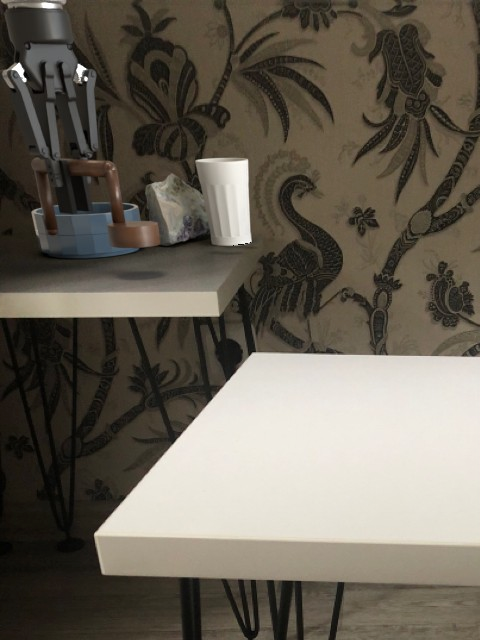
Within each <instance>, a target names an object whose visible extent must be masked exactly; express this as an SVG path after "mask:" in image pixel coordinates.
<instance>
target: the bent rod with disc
mask: <svg viewBox="0 0 480 640" xmlns="http://www.w3.org/2000/svg"><path fill="white" fill-rule="evenodd" d="M59 160H67V164H68V169H69V174H70V175H73V176H89V177H91V178H105V185H106V189H107V196H108V203H110V209H111V215H112V221H113V223H110V224H107V228H108V234H109V240H110V245H111V246H112V247H117V248H140V249H142V248H143V249H144V248H151V247H152V248H153V247H156V246H161V245H160V244H161V243H160V236H159V229H158V223H157V222H152V221H150V220H141V221H125V217H124V210H123V204H122V203H123V199H122V192H121V185H120V180H119V173H118V168H117V165H116V164H115V163H114V162H112V161H111V160H101V159H99V160H98V159H88V160H81V159H66V158H61V157H60V159H59ZM31 168H32V170H33V171H34V177H35V181H36V186H37V187H36V188H37V192H38V196H39V202H40V208H42V212H43V217H44V222H45V227H46V231H47V233H48V234H49V235H52V236H54V235H56V234H57V233H58V226H57V221H56V216H55V211H54V206H55V205H54V201H53V195H52V190H51V185H50V183H49V179H48V174H47V170H46V165H45V162H44V160H41V159H39V158H38V156H36V157H34V158H33V159H32V160H31Z"/></svg>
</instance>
